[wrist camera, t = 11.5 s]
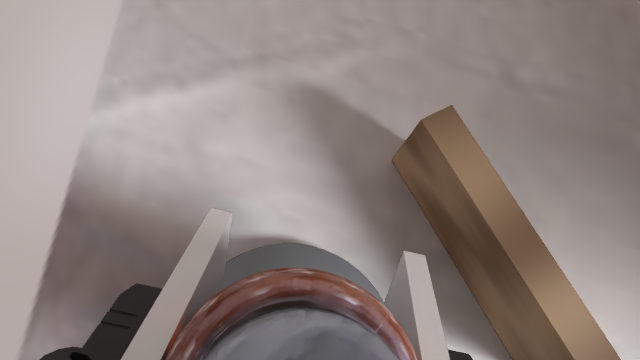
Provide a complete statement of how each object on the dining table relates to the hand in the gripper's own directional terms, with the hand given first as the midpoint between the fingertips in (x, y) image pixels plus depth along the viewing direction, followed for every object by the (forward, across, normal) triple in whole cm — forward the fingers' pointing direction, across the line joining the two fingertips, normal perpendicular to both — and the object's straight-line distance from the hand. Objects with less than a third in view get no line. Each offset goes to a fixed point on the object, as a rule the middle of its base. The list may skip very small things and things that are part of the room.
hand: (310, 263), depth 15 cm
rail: (+6, +8, -2) cm, 10 cm away
